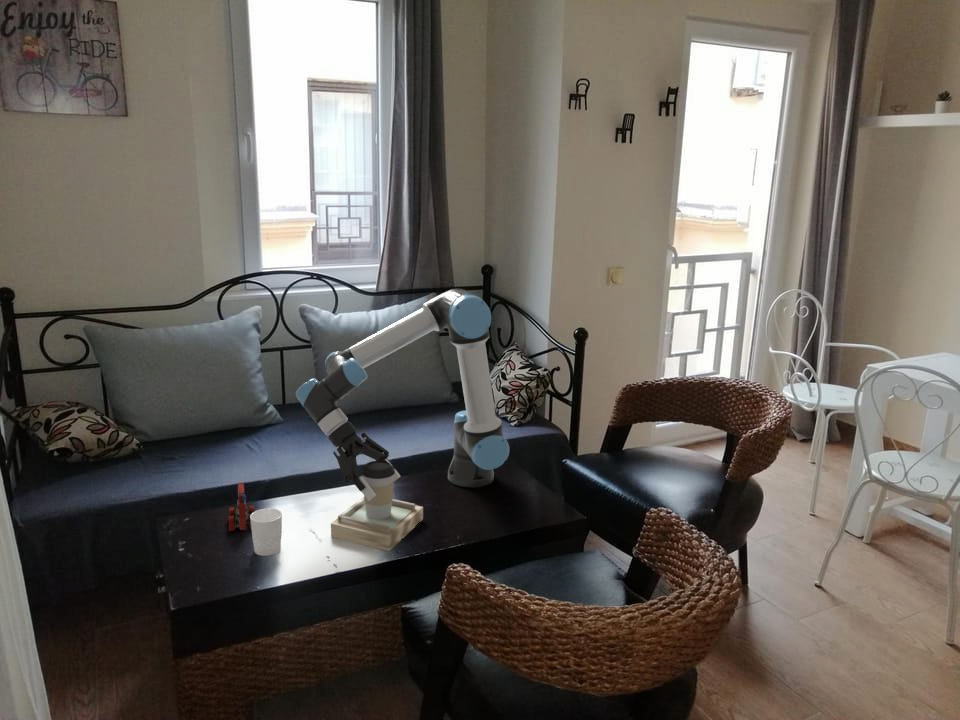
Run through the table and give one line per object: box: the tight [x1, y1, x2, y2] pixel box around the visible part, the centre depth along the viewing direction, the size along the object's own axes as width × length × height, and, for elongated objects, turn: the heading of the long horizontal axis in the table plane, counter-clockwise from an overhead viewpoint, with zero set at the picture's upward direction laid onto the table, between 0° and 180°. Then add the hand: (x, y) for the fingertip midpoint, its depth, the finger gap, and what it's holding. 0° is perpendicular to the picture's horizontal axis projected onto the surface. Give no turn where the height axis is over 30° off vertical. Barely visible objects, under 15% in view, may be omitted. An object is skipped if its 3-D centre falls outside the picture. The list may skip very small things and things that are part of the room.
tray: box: [330, 496, 424, 552], centre depth 202 cm, size 20×18×6 cm
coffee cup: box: [361, 459, 396, 519], centre depth 200 cm, size 9×9×15 cm
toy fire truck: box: [228, 483, 256, 532], centre depth 201 cm, size 7×12×10 cm, turn 18°
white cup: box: [250, 507, 283, 557], centre depth 188 cm, size 8×8×10 cm
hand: (385, 488), depth 199 cm, fingers open, 13 cm apart
